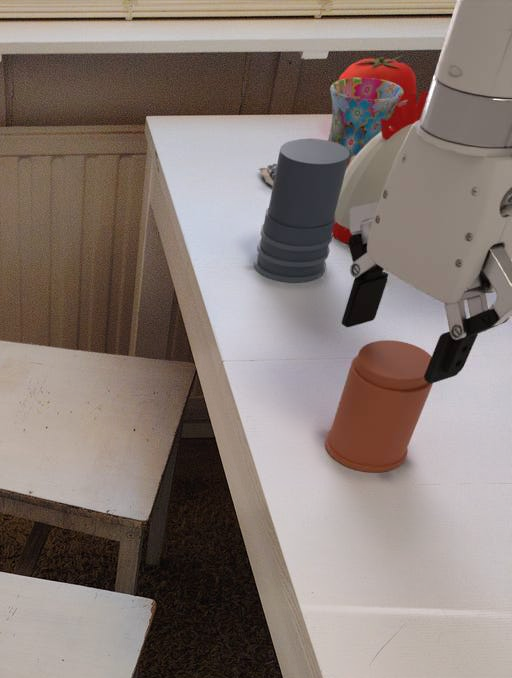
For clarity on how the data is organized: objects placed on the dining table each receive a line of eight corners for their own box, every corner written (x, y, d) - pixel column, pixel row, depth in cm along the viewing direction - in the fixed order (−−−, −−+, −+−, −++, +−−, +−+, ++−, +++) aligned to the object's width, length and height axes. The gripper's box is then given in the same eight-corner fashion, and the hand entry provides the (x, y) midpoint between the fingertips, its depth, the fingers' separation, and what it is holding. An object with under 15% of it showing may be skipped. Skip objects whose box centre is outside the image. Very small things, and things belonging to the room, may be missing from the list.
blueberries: (284, 166, 119) (287, 151, 117) (323, 185, 114) (326, 170, 113) (248, 176, 117) (250, 161, 115) (286, 195, 112) (289, 180, 111)
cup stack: (318, 250, 101) (346, 137, 92) (330, 283, 96) (361, 166, 86) (250, 249, 102) (270, 136, 92) (257, 282, 96) (280, 165, 87)
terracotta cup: (396, 425, 78) (429, 337, 71) (414, 473, 73) (452, 384, 66) (319, 424, 78) (344, 336, 71) (332, 471, 73) (361, 382, 66)
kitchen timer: (459, 242, 102) (511, 104, 91) (362, 258, 100) (402, 119, 88) (396, 198, 111) (435, 68, 99) (304, 213, 108) (334, 81, 97)
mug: (315, 187, 114) (335, 99, 106) (308, 161, 120) (327, 76, 112) (404, 189, 113) (431, 101, 105) (393, 163, 119) (418, 78, 111)
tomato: (416, 134, 126) (440, 54, 118) (385, 157, 120) (409, 75, 112) (342, 118, 131) (361, 41, 123) (310, 140, 125) (328, 60, 117)
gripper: (633, 145, 51) (512, 390, 64) (430, 71, 61) (361, 294, 74) (547, 166, 49) (439, 414, 62) (351, 85, 59) (294, 313, 72)
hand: (397, 349), depth 68 cm, fingers open, 9 cm apart
